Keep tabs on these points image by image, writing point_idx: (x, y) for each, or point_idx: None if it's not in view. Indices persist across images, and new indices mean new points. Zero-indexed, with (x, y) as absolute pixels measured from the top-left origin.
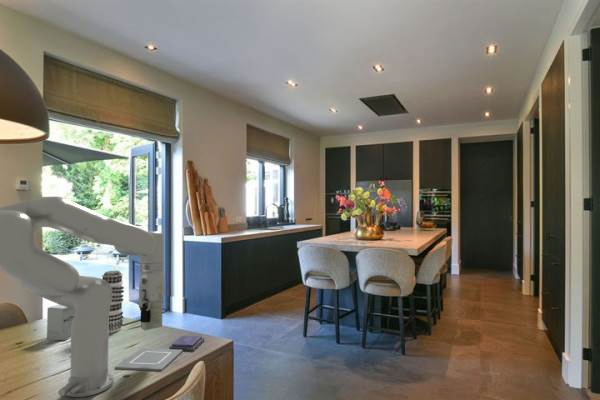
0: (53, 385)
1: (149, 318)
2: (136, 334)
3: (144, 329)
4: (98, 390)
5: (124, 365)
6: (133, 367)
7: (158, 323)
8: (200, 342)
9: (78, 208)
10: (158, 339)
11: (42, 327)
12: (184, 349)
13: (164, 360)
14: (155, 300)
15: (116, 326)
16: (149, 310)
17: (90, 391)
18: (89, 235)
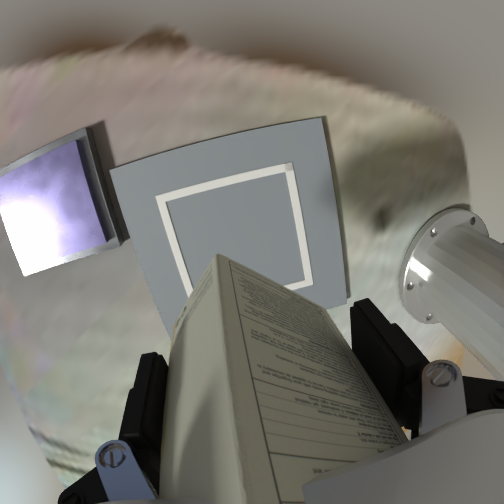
0: (437, 346)
1: (381, 314)
2: (95, 426)
3: (327, 313)
4: (475, 214)
5: (330, 283)
6: (338, 239)
7: (249, 280)
8: (23, 157)
9: None
10: (75, 351)
11: None
12: (100, 170)
13: (243, 164)
14: (437, 438)
15: None
16: (420, 363)
17: (484, 226)
18: None
